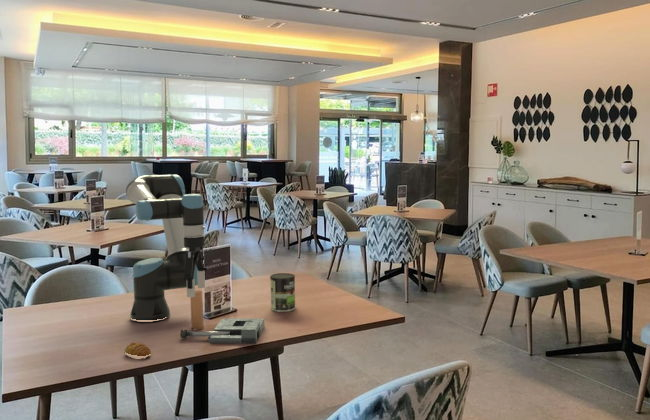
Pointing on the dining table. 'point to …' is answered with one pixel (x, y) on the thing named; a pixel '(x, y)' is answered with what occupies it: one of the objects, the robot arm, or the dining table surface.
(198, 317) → the wooden block
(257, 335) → the dock
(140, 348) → the pastry
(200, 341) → the dining table surface
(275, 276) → the coffee can
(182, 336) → the lock pin
